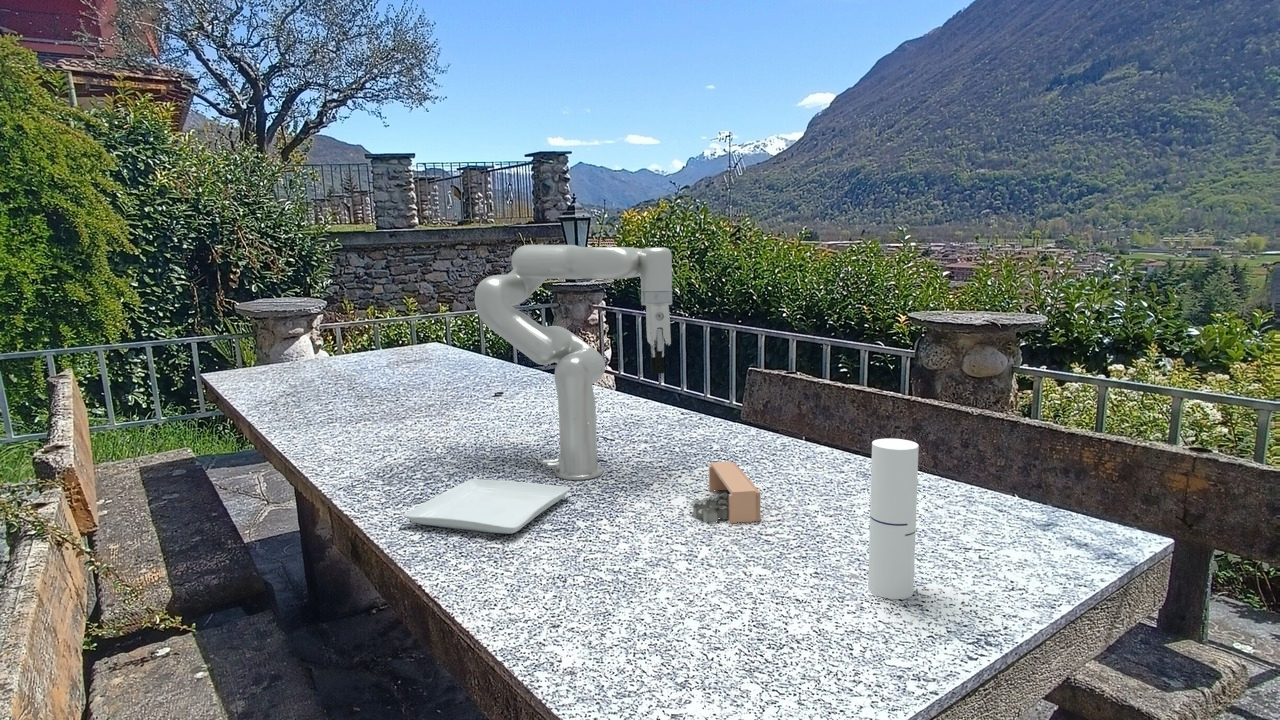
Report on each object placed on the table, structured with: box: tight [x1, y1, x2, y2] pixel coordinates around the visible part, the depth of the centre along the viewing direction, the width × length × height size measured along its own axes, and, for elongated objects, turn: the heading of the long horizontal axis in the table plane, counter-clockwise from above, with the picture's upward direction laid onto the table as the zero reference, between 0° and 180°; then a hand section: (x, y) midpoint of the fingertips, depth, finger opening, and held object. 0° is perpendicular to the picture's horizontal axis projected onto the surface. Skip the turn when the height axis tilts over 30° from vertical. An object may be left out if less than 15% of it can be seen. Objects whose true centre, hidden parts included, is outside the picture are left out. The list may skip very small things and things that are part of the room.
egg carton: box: [689, 491, 730, 523], centre depth 159 cm, size 11×8×4 cm
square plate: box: [402, 478, 571, 535], centre depth 163 cm, size 27×27×4 cm
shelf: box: [708, 461, 761, 524], centre depth 165 cm, size 6×22×7 cm, turn 6°
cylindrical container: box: [867, 438, 920, 600], centre depth 121 cm, size 7×7×25 cm
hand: (657, 372), depth 182 cm, fingers closed
